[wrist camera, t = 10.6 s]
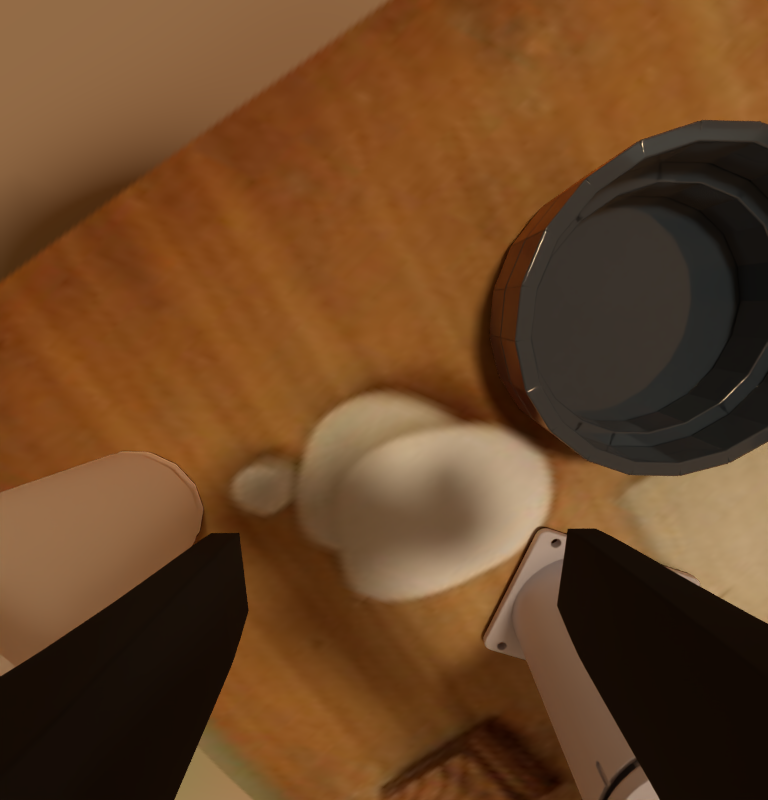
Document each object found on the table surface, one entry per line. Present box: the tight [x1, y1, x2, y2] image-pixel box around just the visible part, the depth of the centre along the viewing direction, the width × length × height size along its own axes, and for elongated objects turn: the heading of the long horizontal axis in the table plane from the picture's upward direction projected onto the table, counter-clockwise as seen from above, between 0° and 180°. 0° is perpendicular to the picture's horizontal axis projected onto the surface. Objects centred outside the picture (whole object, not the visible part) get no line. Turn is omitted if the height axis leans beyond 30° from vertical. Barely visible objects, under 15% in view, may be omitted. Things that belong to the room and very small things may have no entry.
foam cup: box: [0, 451, 203, 676], centre depth 13 cm, size 10×9×13 cm
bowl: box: [489, 120, 768, 476], centre depth 15 cm, size 12×12×4 cm
